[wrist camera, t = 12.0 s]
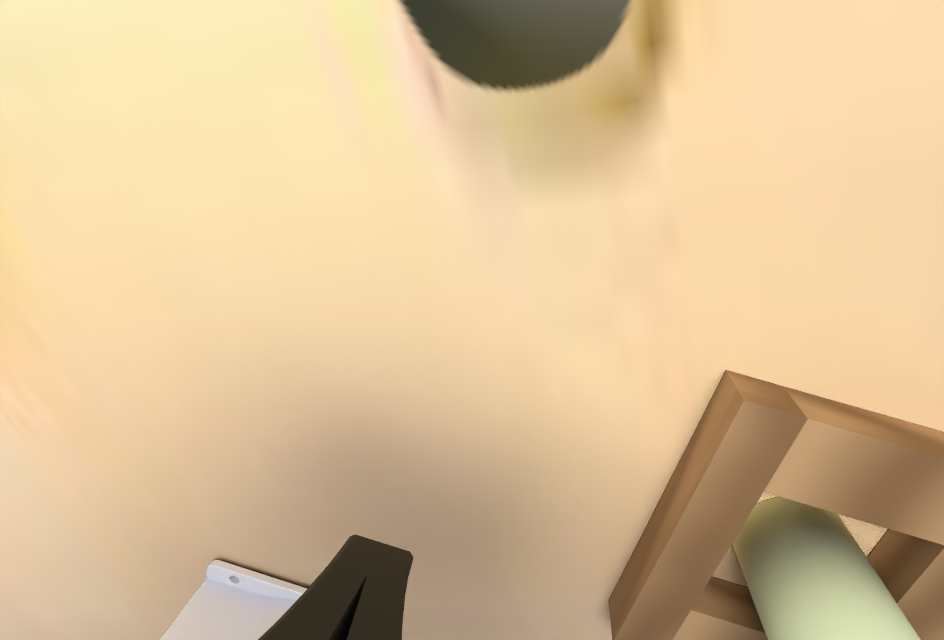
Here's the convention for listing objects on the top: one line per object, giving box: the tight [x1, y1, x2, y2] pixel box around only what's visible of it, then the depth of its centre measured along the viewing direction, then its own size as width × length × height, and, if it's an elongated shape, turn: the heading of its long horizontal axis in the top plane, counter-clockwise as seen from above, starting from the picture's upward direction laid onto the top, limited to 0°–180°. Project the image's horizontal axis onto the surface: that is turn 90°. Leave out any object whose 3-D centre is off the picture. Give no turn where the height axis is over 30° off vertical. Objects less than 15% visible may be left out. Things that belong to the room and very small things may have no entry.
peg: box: [732, 497, 921, 640], centre depth 17 cm, size 4×4×8 cm
